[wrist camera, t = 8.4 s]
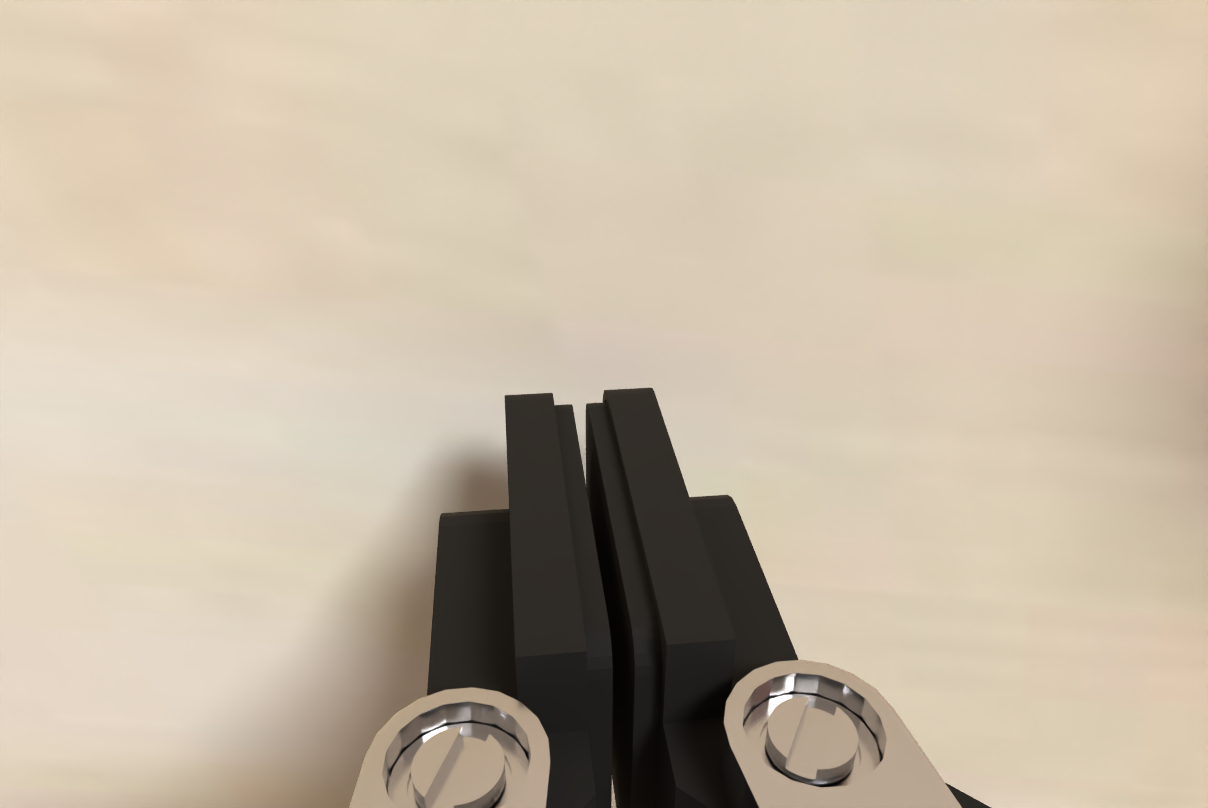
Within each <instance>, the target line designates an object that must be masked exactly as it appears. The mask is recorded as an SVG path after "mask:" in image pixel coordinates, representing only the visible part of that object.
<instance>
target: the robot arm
mask: <svg viewBox="0 0 1208 808" xmlns="http://www.w3.org/2000/svg"><path fill="white" fill-rule="evenodd" d="M505 414H506V439H507V464H508V489H509V509H502V510H487V511H472V512H456V513H441V516H440V522H439V533H438V548H437V562H436V576H435V590H434V605H433V619H432V633H431V648H430V662H429V676H428V691H427V696H425V697H422V698H419V699H418V700H416V701H414V702H413V703H411V704H410V705H408V706H406V707H405V708H403V709H401V710H400V711H398V712H397V713H395V714H394V715H393V716H392V717H391V718H390V720H389V721H388V722H387V723H386V724H385V725H384V726H383V727H382V728H381V729H380V730H379V731H378V732H377V733H376V735H375V737H374V739H373V741H372V743H371V745H370V747H369V749H368V751H367V753H366V755H365V758H364V761H363V764H362V767H361V770H360V774H359V777H358V780H357V783H356V786H355V789H354V793H353V796H352V799H351V802H350V805H349V808H611V786H612V779H613V786H614V793H615V800H616V807H617V808H991V807H989V806H987V805H985V804H983V803H981V802H980V801H978V800H976V799H974V798H972V797H970V796H969V795H967V794H965V793H963V792H961V791H959V790H958V789H956V788H954V787H952V786H950V785H948V784H947V783H945V782H944V781H943V779H942V778H941V776H940V775H939V774H938V772H937V771H936V769H935V768H934V766H933V765H932V763H931V762H930V761H929V759H928V758H927V756H926V755H925V753H924V752H923V750H922V749H921V747H920V746H919V745H918V743H917V742H916V740H915V739H914V737H913V736H912V734H911V733H910V732H909V730H908V729H907V727H906V726H905V724H904V723H903V721H902V720H901V719H900V717H899V716H898V714H897V713H896V711H895V710H894V708H893V707H892V706H891V705H890V704H889V703H888V702H887V701H886V700H885V698H884V697H883V696H882V695H881V694H880V693H879V692H878V691H877V690H876V689H875V688H874V687H872V686H871V685H869V684H868V683H866V682H865V681H863V680H862V679H860V678H859V677H857V676H856V675H854V674H852V673H850V672H847V671H845V670H842V669H839V668H837V667H834V666H832V665H829V664H825V663H818V662H812V661H806V660H798V658H797V655H796V653H795V650H794V648H793V645H792V643H791V640H790V638H789V635H788V633H787V630H786V628H785V625H784V623H783V620H782V618H781V615H780V613H779V610H778V608H777V605H776V603H775V601H774V598H773V596H772V593H771V591H770V588H769V586H768V583H767V581H766V578H765V576H764V573H763V571H762V568H761V566H760V563H759V561H758V558H757V556H756V553H755V551H754V548H753V546H752V543H751V541H750V539H749V536H748V534H747V531H746V529H745V526H744V524H743V521H742V519H741V516H740V514H739V511H738V509H737V506H736V504H735V503H734V501H733V499H732V497H730V496H728V495H719V496H703V497H689V495H688V492H687V489H686V486H685V483H684V480H683V477H682V474H681V471H680V468H679V465H678V462H677V459H676V456H675V453H674V450H673V447H672V444H671V441H670V438H669V435H668V432H667V429H666V426H665V423H664V420H663V417H662V414H661V411H660V408H659V405H658V402H657V399H656V396H655V393H654V390H653V388H638V389H619V390H604V394H603V403H590V404H587V405H586V484H585V478H584V472H583V466H582V460H581V454H580V448H579V442H578V436H577V430H576V424H575V418H574V412H573V407H572V405H554V399H553V393H542V394H523V395H505Z"/></svg>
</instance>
